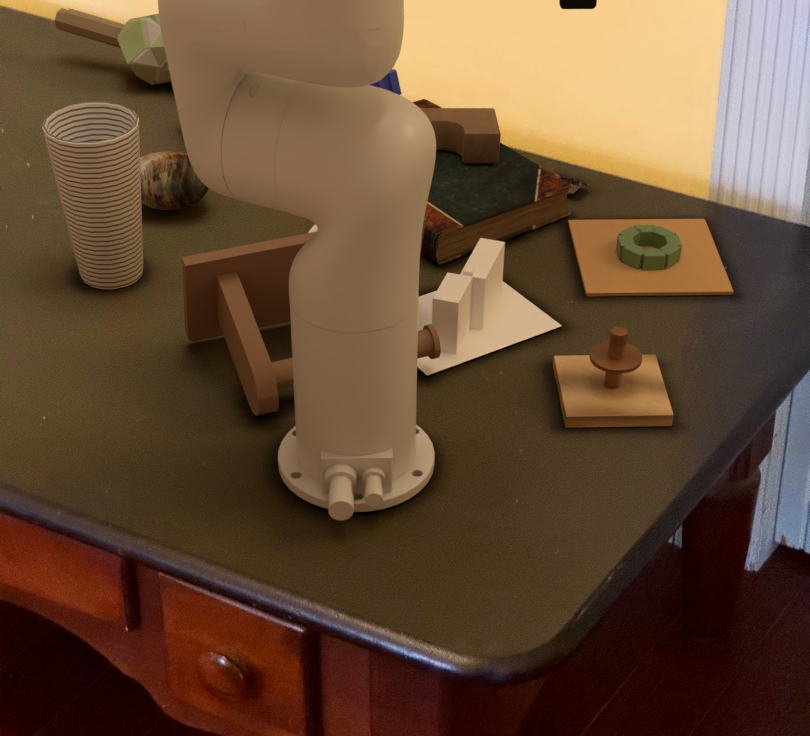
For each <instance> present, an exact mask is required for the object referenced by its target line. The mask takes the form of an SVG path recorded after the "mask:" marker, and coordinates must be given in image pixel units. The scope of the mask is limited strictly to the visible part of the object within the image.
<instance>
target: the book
mask: <svg viewBox="0 0 810 736" xmlns="http://www.w3.org/2000/svg"><path fill="white" fill-rule="evenodd" d="M412 102H413V103H414V104H415V105H417V106H418V107H419V108H442V107H441V106H440V105H438V104H436V103H434V102H432V101H430V100H429V99H425V98H423V99H418V100H416V101H412ZM553 173H554V172H552V171H549V170H548V169H546V168H544V167H543V166H541V165H539V164H538V163H536V162H534V161H532V160H530V158H528V157H526V156H524V155H522V154H520V153H519V152H518V151H515V150H514V149H513V148H510V147H508V146H507V145H505V144H503V143H502V142H500V153H499V162H498V163H463V161H462V156H461V155H459V154H458V153H457V152H454V151H449V150H436V159H435V166H434V172H433V177H432V182H431V186H430V191H429V196H428V200H427V206H426V211H425V218H426V223H425V229H424V236H423V242H422V248H421V253H422V254H424V255H425V256H427V258H429V259H431V260H432V261H434V262H435V263H437V264H438V265H441V264H446V263H449V262H451V261H453V260H456V259H458V258H461V257H464V256H466V255H469V254H472V252H473V250H474V248H475V247H476V245H477V243H478V241H479V240H480V238H484V239H490V240H496V241H502V242H505V241H507V240H510V239H513V238H515V237H518V236H520V235H523V234H526V233H528V232H530V231H533V230H536V229H539V228H541V227H544V226H546V225H548V224H551V223H554V222H556V221H559V220H562V219H564V218H567V217H569V216H571V212H570V211H569V210H567V198H568V194H569V193H568V190H570V189H572V188H574V187H573V186H572V185H571V184H570V182H567V180H565V179H561V178H560V177H558V176H556V175H555V174H553ZM567 193H568V194H567Z"/></svg>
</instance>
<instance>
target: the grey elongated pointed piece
mask: <svg viewBox="0 0 810 736" xmlns="http://www.w3.org/2000/svg"><path fill="white" fill-rule="evenodd" d="M552 173H553V174H555V175H556V176H558V177H560V178H561V179H563V180H564V181H568V183H569V184H571V185H572V186H573V187H574V188H572V189H570V190H568V193H567V195H568V194H571V195H572V194H574V193H576V191H578V190H579V189H580V188H582V187H583V186H587V187H591V185H590V183H586V182H585V181H583V180H579V179H575V177H571V178H567V177H564V176H561V175H559V174H557V173H556V172H552Z"/></svg>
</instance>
